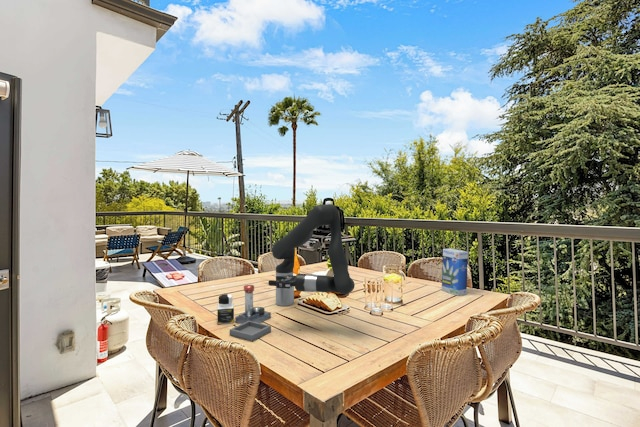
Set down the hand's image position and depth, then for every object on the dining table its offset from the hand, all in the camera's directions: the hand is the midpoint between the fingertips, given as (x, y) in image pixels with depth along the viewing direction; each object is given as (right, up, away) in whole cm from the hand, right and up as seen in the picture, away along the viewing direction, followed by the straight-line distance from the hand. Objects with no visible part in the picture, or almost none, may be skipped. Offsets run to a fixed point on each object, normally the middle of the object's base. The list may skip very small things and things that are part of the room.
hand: (272, 280), depth 154 cm
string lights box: (+102, -18, +55) cm, 117 cm away
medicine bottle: (-22, -20, +5) cm, 30 cm away
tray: (-8, -20, -9) cm, 24 cm away
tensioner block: (-10, -19, +7) cm, 23 cm away
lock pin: (-11, -17, +4) cm, 21 cm away
